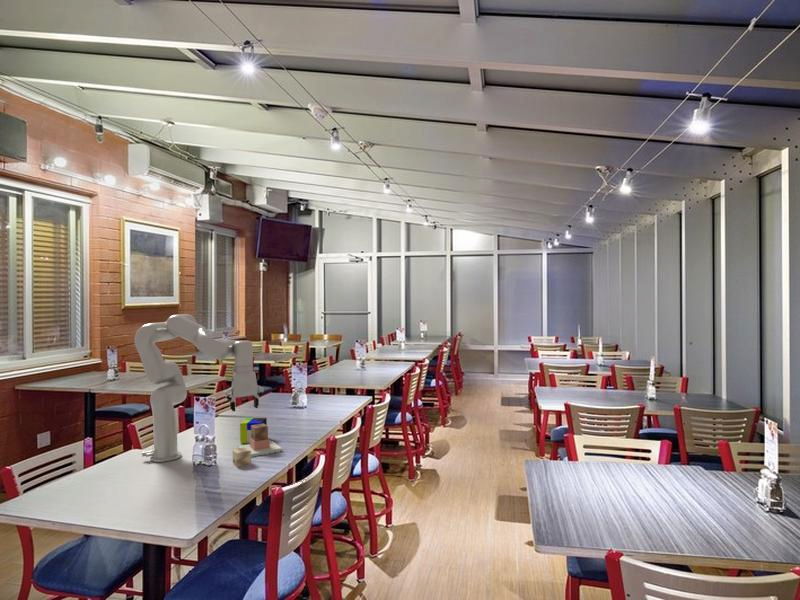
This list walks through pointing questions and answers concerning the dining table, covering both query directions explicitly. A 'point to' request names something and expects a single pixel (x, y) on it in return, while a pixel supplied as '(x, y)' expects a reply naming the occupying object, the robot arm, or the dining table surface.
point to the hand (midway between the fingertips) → (244, 409)
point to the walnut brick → (259, 432)
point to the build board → (261, 452)
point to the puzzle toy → (249, 428)
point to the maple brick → (241, 457)
